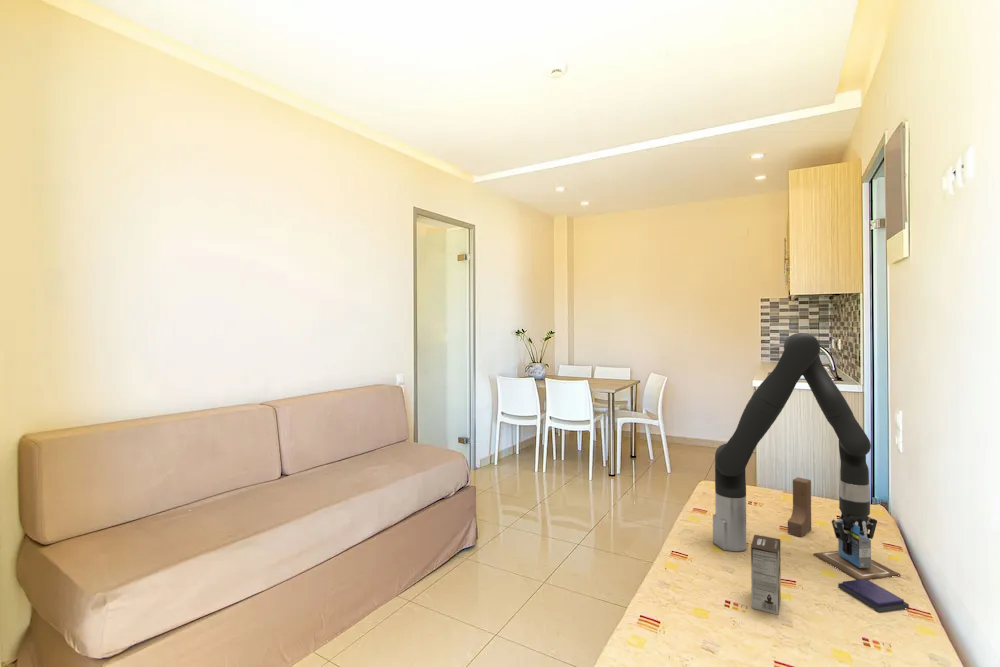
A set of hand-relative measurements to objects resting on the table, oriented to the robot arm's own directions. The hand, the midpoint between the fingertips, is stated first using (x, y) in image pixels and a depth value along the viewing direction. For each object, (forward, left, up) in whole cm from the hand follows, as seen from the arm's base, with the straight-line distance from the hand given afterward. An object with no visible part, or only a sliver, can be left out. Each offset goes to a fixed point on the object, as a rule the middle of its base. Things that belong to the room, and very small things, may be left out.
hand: (854, 552), depth 147 cm
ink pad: (-11, -16, -4) cm, 20 cm away
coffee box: (-40, -13, -4) cm, 42 cm away
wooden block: (+2, +24, -4) cm, 24 cm away
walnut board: (0, 0, -4) cm, 4 cm away
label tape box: (0, 0, -3) cm, 3 cm away
